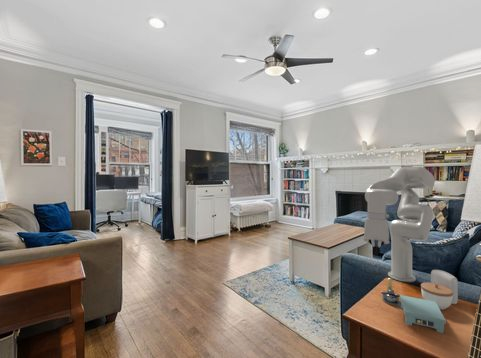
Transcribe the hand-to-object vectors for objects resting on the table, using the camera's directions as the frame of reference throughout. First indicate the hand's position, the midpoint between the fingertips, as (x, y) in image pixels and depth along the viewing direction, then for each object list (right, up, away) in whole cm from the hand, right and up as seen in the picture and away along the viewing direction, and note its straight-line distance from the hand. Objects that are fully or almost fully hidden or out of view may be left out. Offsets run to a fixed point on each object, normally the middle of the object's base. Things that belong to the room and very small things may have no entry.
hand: (376, 254), depth 113 cm
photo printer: (+28, -19, -5) cm, 34 cm away
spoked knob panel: (+4, -19, -16) cm, 25 cm away
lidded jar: (+20, -19, -11) cm, 29 cm away
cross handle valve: (+3, -18, -6) cm, 19 cm away
